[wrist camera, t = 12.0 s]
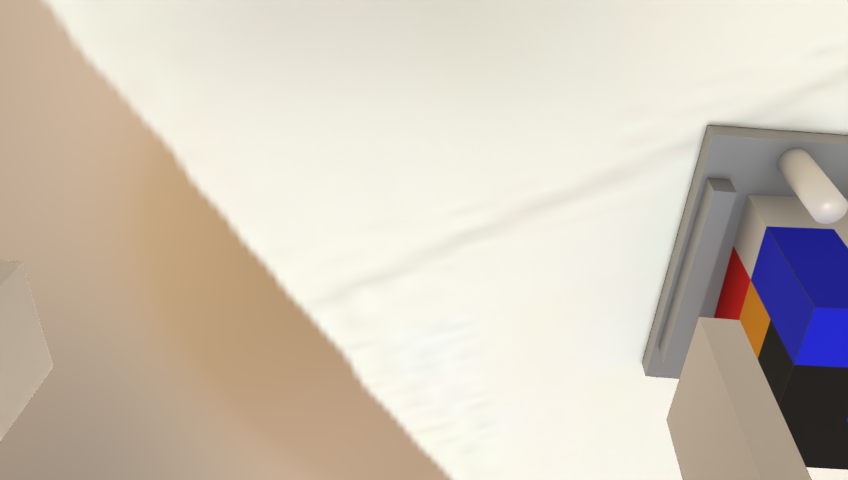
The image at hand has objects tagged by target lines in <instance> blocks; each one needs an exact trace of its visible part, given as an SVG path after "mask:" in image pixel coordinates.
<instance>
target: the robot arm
mask: <svg viewBox="0 0 848 480" xmlns="http://www.w3.org/2000/svg"><path fill="white" fill-rule="evenodd" d="M52 368H53V364H52V361H51V357H50V354H49V350H48V347H47V344H46V340H45V337H44V334H43V330H42V327H41V323H40V320H39V316H38V313H37V310H36V306H35V303H34V300H33V296H32V293H31V289H30V286H29V283H28V279H27V276H26V272H25V269H24V266H23V263H22V262H18V261H5V260H0V441H1V440H2V438H3V437H4V436H5V434H6V433H7V431H8V430H9V429H10V427H11V426H12V424H13V423H14V422H15V420H16V419H17V417H18V416H19V414H20V413H21V412H22V410H23V409H24V408H25V406H26V405H27V403H28V402H29V401H30V399H31V398H32V396H33V395H34V394H35V392H36V391H37V389H38V388H39V387H40V385H41V384H42V382H43V381H44V380H45V378H46V377H47V375H48V374H49V373H50V371H51V370H52ZM667 423H668V427H669V431H670V434H671V438H672V442H673V445H674V449H675V453H676V456H677V460H678V464H679V467H680V471H681V475H682V479H683V480H812V479H811V477H810V475H809V473H808V470H807V468H806V466H805V464H804V462H803V459H802V457H801V455H800V453H799V450H798V448H797V446H796V444H795V442H794V439H793V437H792V435H791V433H790V430H789V428H788V426H787V424H786V422H785V419H784V417H783V415H782V413H781V411H780V408H779V406H778V404H777V402H776V399H775V397H774V395H773V393H772V391H771V388H770V386H769V384H768V382H767V379H766V377H765V375H764V373H763V371H762V368H761V366H760V364H759V362H758V359H757V357H756V355H755V353H754V351H753V348H752V346H751V344H750V342H749V340H748V337H747V335H746V333H745V331H744V328H743V326H742V324H741V322H740V320H732V319H720V318H707V317H699V318H698V322H697V325H696V328H695V331H694V334H693V337H692V341H691V344H690V347H689V350H688V353H687V356H686V360H685V363H684V366H683V369H682V372H681V375H680V379H679V382H678V385H677V388H676V391H675V394H674V398H673V401H672V404H671V407H670V410H669V414H668V417H667Z"/></svg>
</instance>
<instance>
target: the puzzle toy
mask: <svg viewBox="0 0 848 480" xmlns="http://www.w3.org/2000/svg"><path fill="white" fill-rule="evenodd" d="M845 199H846V200H847V203H848V198H845ZM714 318H720V319H732V320H740V322H741V324H742V326H743V328H744V331H745V333H746V335H747V337H748V340H749V342H750V344H751V346H752V348H753V351H754V353H755V355H756V357H757V359H758V362H759V364H760V366H761V368H762V371H763V373H764V375H765V377H766V379H767V382H768V384H769V386H770V388H771V391H772V393H773V395H774V397H775V399H776V402H777V404H778V406H779V408H780V411H781V413H782V415H783V417H784V419H785V422H786V424H787V426H788V428H789V430H790V433H791V435H792V437H793V439H794V442H795V444H796V446H797V448H798V450H799V453H800V455H801V457H802V459H803V462H804V464H805V466H806V467H813V468H830V469H847V470H848V209H847V212H846V214H845V215H844V216H843V217H842V218H841V219H840V220H838V221H836V222H834V223H830V224H822V223H819V222H817V221H815V220H814V218H813V217H812V216H811V214H810V213H809V211H808V210H807V209H806V207H805V206H804V204H803V203H802V202H801V200H800V199H799V197H798V196H772V195H747V197H746V201H745V205H744V208H743V212H742V216H741V219H740V223H739V227H738V230H737V234H736V238H735V241H734V245H733V249H732V252H731V256H730V260H729V263H728V267H727V271H726V274H725V278H724V281H723V285H722V289H721V292H720V296H719V300H718V303H717V307H716V311H715V314H714Z"/></svg>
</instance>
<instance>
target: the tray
mask: <svg viewBox="0 0 848 480" xmlns="http://www.w3.org/2000/svg"><path fill="white" fill-rule="evenodd" d="M747 195H772V196H798V197H799V199H800V200H801V202H802V203H803V204H804V206H805V207H806V209H807V210H808V211H809V213H810V214H811V216H812V217H813V218H814V220H815V221H817V222H819V223H822V224H830V223H834V222H836V221H838V220H840V219H841V218H842V217H843V216H844V215H845V214H846V212H847V209H848V203H847V200H846V199H845V198H848V135H835V134H821V133H807V132H793V131H780V130H766V129H752V128H739V127H725V126H711V125H708V126H707V130H706V133H705V137H704V140H703V144H702V148H701V151H700V155H699V159H698V162H697V166H696V170H695V173H694V177H693V181H692V184H691V188H690V191H689V195H688V199H687V202H686V206H685V210H684V213H683V217H682V221H681V224H680V228H679V231H678V235H677V239H676V242H675V246H674V250H673V253H672V257H671V261H670V264H669V268H668V271H667V275H666V279H665V282H664V286H663V290H662V293H661V297H660V301H659V304H658V308H657V311H656V315H655V319H654V322H653V326H652V330H651V333H650V337H649V341H648V344H647V348H646V351H645V355H644V359H643V362H642V364H643V368H644V372H645V376H652V377H664V378H676V379H680V375H681V372H682V369H683V366H684V363H685V360H686V356H687V353H688V350H689V347H690V344H691V341H692V337H693V334H694V331H695V328H696V325H697V322H698V318H699V317H707V318H714V314H715V311H716V307H717V303H718V300H719V296H720V292H721V289H722V285H723V281H724V278H725V274H726V271H727V267H728V263H729V260H730V256H731V252H732V249H733V245H734V241H735V238H736V234H737V230H738V227H739V223H740V219H741V216H742V212H743V208H744V205H745V201H746V197H747Z"/></svg>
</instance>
